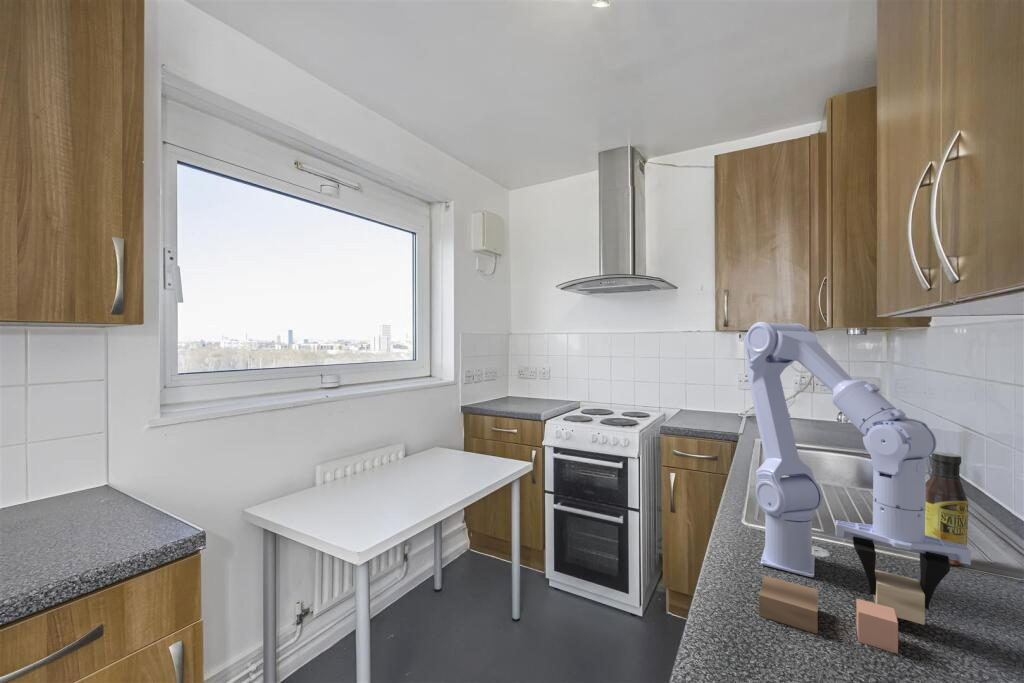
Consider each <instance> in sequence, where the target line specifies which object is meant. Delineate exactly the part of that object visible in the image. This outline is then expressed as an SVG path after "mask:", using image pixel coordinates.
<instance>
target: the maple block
mask: <svg viewBox="0 0 1024 683" xmlns="http://www.w3.org/2000/svg"><path fill="white" fill-rule="evenodd" d="M875 581H876V595H872V596H873V600H874V603H876V604H879V605H883V606H887V607H891V608H894V611H895V614H896V618H897V619H901V620H906V621H909V622H913V623H916V624H920V625H923V626H924V625H925V624H926V623H925V622H926V621H925V620H926V619H925V618H926V615H925V614H926V613H925V612H926V611H925V610H926V608H925V595H924V592H923V590H922V588H921V585H920V580H919V579H917V578H912V577H909V576H903V575H901V574H900V575H899V574H895V573H891V572H887V571H883V570H879V569H875Z"/></svg>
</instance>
